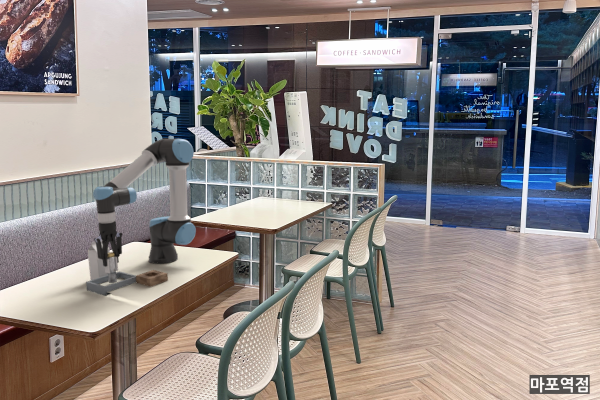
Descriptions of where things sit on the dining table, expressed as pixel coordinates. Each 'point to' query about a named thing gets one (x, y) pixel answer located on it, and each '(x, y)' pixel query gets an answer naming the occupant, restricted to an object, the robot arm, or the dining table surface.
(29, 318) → the dining table surface
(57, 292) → the dining table surface
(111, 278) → the small bottle
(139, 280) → the block
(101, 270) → the milk carton
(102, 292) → the tray
